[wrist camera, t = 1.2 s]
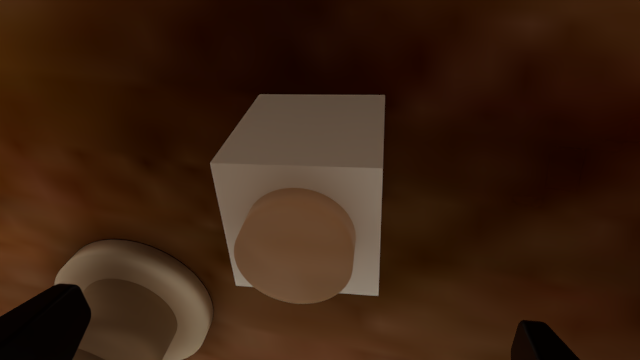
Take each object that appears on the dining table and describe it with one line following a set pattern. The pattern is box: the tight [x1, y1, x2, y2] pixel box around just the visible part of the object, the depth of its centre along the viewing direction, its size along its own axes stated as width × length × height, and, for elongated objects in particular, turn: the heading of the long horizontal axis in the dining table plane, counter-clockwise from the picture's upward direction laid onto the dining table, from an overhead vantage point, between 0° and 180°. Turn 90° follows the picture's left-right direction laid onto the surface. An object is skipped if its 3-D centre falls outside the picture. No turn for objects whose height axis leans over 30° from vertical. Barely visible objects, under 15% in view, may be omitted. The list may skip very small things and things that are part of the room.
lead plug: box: [210, 94, 385, 304], centre depth 12 cm, size 4×4×6 cm
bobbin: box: [55, 240, 213, 360], centre depth 17 cm, size 7×7×6 cm
